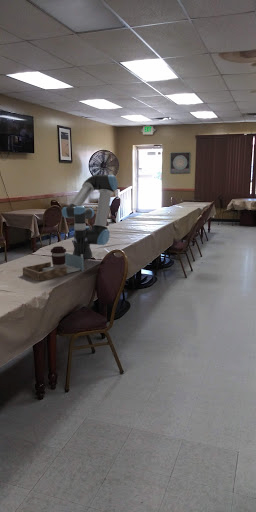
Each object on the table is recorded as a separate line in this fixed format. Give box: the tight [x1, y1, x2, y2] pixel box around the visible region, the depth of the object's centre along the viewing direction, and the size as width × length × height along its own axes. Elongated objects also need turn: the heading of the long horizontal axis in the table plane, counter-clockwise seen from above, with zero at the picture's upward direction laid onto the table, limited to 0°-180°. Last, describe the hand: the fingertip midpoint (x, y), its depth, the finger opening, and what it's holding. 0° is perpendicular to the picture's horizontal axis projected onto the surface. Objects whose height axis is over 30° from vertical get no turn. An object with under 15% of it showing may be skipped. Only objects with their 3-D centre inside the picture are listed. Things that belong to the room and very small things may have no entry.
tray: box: [42, 252, 85, 274], centre depth 258 cm, size 21×19×9 cm
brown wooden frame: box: [22, 261, 68, 282], centre depth 250 cm, size 20×19×5 cm
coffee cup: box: [50, 246, 67, 269], centre depth 256 cm, size 10×10×15 cm
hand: (81, 263), depth 269 cm, fingers closed
